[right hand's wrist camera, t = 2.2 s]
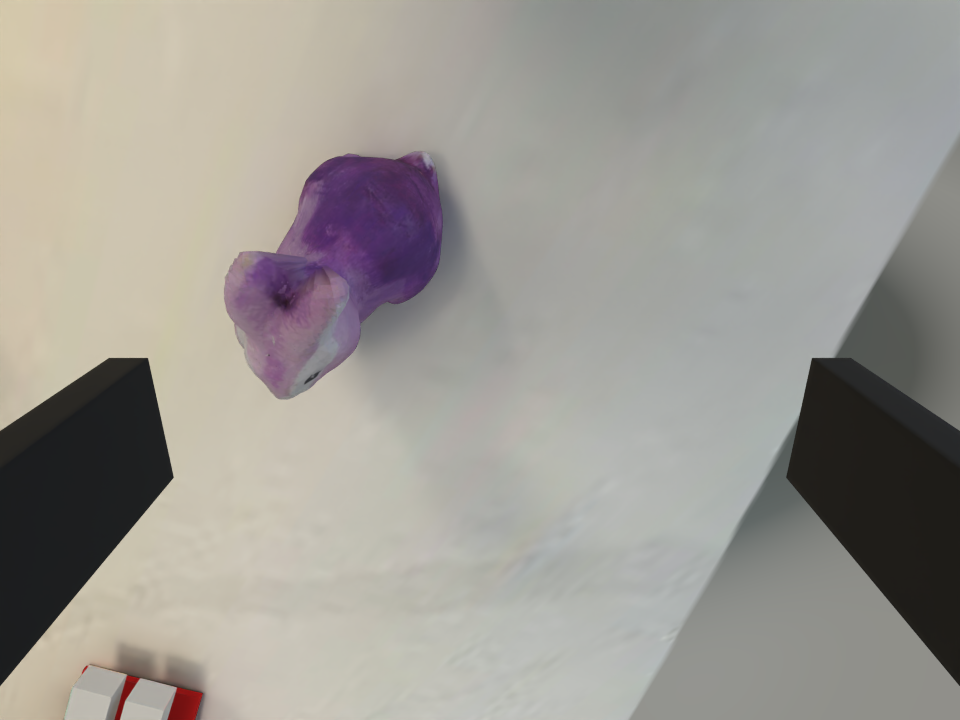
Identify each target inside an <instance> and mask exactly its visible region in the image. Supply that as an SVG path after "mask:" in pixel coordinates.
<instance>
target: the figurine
mask: <svg viewBox="0 0 960 720" xmlns="http://www.w3.org/2000/svg"><path fill="white" fill-rule="evenodd" d="M442 227H443V218H442V209H441V204H440V199H439V189H438V180H437V173H436V169H435V165H434V163H433V160H432V159H431V157H430V156H429V154H428V153H426V152H423V151H415V152H412V153H410V154H407V155H405V156H403V157H401V158H399V159H396V160H392V159H385V158H373V157H360V156H358V155H354V154H346V155H344V156H339V157H335V158H332V159H330V160H327V161H326V162H324V163H323V164H321V165H320V166H319V167H318V168H317V169H316V170H315V171H314V172H313V173H312V174H311V175H310V176H309V178H308V179H307V180H306V182H305V185H304V188H303V191H302V193H301V196H300V200H299V208H298V214H297V216H296V218H295V221H294V223H293V225H292V227H291V228H290V230H289V232H288V233H287V235H286V236H285V238H284V240H283V241H282V243H281V245H280V247H279V248H278V250H277V252H276V253H268V252H260V251H248V252H240V253H239V255H238V258H236V259H234V262H233V265H231V266H230V268H229V271H228V273H227V275H226V276H225V286H224V300H225V304H226V310H227V312H228V314H229V316H230V318H231V319H232V320H233V322H234V323H235V333H236V336H237V339H238V341H239V343H240V344H241V346H242V347H243V348H244V354H245V358H246V361H247V364H248V366H249V367H250V368H251V370H252V371H253V372H254V374H255V375H256V376H257V377H258V378H259V379H261V380H262V381H263V382H264V384H265V385H266V386H267V387H268V389H269V390H270V392H271V393H272V394H273V395H274V396H275V397H276V398H278V399H286V400H287V399H290V398H293V397H295V396H297V395H298V394H300V393H302V392H304V391H306V390H308V389H309V388H311V387H312V386H313V385H314V384H315V383H316V382H317V381H318V380H319V379H320V378H322V377H323V376H324V375H325V374H327V373H328V372H329V371H331V370H333V369H334V368H336V367H337V366H338V365H340V364H341V363H342V362H343V361H344V360H345V359H346V358H348V357H349V356H350V355H351V354H352V353H353V351H354V350H355V349H356V346H357V344H358V341H359V339H360V331H361V330H360V323H362V322H363V321H364V320H365V319H366V318H367V317H368V316H369V315H370V314H371V313H372V312H373V311H374V310H375V309H376V308H377V307H379V306H380V305H382V304H383V303H386V302H389V303H392V304H399V303H402V302H405V301H407V300H409V299H410V298H412V297H414V296H415V295H416V294H418V293H419V292H420V291H421V290H423V289H424V287H425V286H426V285H427V284H428V282H429V281H430V280H431V279H432V277H433V275H434V274H435V272H436V270H437V267H438V264H439V259H440V249H441V239H442Z"/></svg>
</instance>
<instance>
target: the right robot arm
mask: <svg viewBox="0 0 960 720" xmlns="http://www.w3.org/2000/svg"><path fill="white" fill-rule="evenodd" d="M173 478H174V477H173V472H172V467H171V463H170V458H169V453H168V449H167V444H166V440H165V435H164V430H163V426H162V421H161V416H160V412H159V407H158V403H157V398H156V393H155V389H154V384H153V379H152V375H151V370H150V365H149V361H148V358H108V359H107V360H106V361H104V362H103V363H101V364H100V365H98V366H97V367H95V368H94V369H92V370H91V371H89V372H88V373H86V374H85V375H83V376H82V377H80V378H79V379H77V380H76V381H74V382H73V383H71V384H70V385H68V386H67V387H65V388H64V389H62V390H61V391H59V392H58V393H56V394H55V395H53V396H52V397H50V398H49V399H47V400H46V401H44V402H43V403H41V404H40V405H38V406H37V407H35V408H34V409H32V410H31V411H29V412H28V413H26V414H25V415H23V416H22V417H20V418H19V419H17V420H16V421H14V422H13V423H12V424H10V425H9V426H7V427H6V428H4V429H3V430H1V431H0V686H1V684H2V683H3V682H4V681H5V680H6V678H7V677H8V676H9V675H10V674H11V672H12V671H13V670H14V669H15V668H16V666H17V665H18V664H19V663H20V662H21V660H22V659H23V658H24V657H25V656H26V654H27V653H28V652H29V651H30V650H31V648H32V647H33V646H34V645H35V644H36V642H37V641H38V640H39V639H40V638H41V636H42V635H43V634H44V633H45V632H46V630H47V629H48V628H49V627H50V626H51V624H52V623H53V622H54V621H55V620H56V618H57V617H58V616H59V615H60V614H61V612H62V611H63V610H64V609H65V608H66V606H67V605H68V604H69V603H70V602H71V600H72V599H73V598H74V597H75V596H76V594H77V593H78V592H79V591H80V590H81V588H82V587H83V586H84V585H85V584H86V582H87V581H88V580H89V579H90V577H91V576H92V575H93V574H94V573H95V571H96V570H97V569H98V568H99V567H100V565H101V564H102V563H103V562H104V561H105V559H106V558H107V557H108V556H109V555H110V553H111V552H112V551H113V550H114V549H115V547H116V546H117V545H118V544H119V543H120V541H121V540H122V539H123V538H124V537H125V535H126V534H127V533H128V532H129V531H130V529H131V528H132V527H133V526H134V525H135V523H136V522H137V521H138V520H139V519H140V517H141V516H142V515H143V514H144V513H145V511H146V510H147V509H148V508H149V507H150V505H151V504H152V503H153V502H154V501H155V499H156V498H157V497H158V496H159V495H160V493H161V492H162V491H163V490H164V489H165V487H166V486H167V485H168V484H169V483H170V481H171V480H172V479H173ZM787 479H788V480H789V481H790V483H791V484H792V485H793V486H794V487H795V489H796V490H797V491H798V492H799V493H800V495H801V496H802V497H803V498H804V499H805V501H806V502H807V503H808V504H809V505H810V507H811V508H812V509H813V510H814V511H815V513H816V514H817V515H818V516H819V517H820V519H821V520H822V521H823V522H824V523H825V525H826V526H827V527H828V528H829V529H830V531H831V532H832V533H833V534H834V535H835V537H836V538H837V539H838V540H839V541H840V543H841V544H842V545H843V546H844V547H845V549H846V550H847V551H848V552H849V553H850V555H851V556H852V557H853V558H854V559H855V561H856V562H857V563H858V564H859V565H860V567H861V568H862V569H863V570H864V571H865V573H866V574H867V575H868V576H869V577H870V579H871V580H872V581H873V582H874V584H875V585H876V586H877V587H878V588H879V589H880V591H881V592H882V593H883V594H884V596H885V597H886V598H887V599H888V600H889V601H890V603H891V604H892V605H893V606H894V608H895V609H896V610H897V611H898V612H899V614H900V615H901V616H902V617H903V618H904V620H905V621H906V622H907V623H908V624H909V626H910V627H911V628H912V629H913V630H914V632H915V633H916V634H917V635H918V636H919V638H920V639H921V640H922V641H923V642H924V643H925V645H926V646H927V647H928V648H929V650H930V651H931V652H932V653H933V654H934V656H935V657H936V658H937V659H938V660H939V662H940V663H941V664H942V665H943V666H944V668H945V669H946V670H947V671H948V672H949V674H950V675H951V676H952V677H953V678H954V680H955V681H956V682H957V683H958V684H959V686H960V431H959V430H957V429H956V428H954V427H953V426H951V425H950V424H948V423H947V422H945V421H944V420H942V419H941V418H940V417H938V416H936V415H935V414H933V413H932V412H931V411H929V410H927V409H926V408H925V407H923V406H922V405H920V404H919V403H917V402H916V401H914V400H913V399H911V398H910V397H908V396H907V395H905V394H904V393H902V392H901V391H899V390H898V389H896V388H895V387H893V386H892V385H890V384H889V383H887V382H886V381H884V380H883V379H881V378H880V377H878V376H877V375H875V374H874V373H872V372H871V371H869V370H868V369H866V368H865V367H863V366H862V365H860V364H859V363H857V362H856V361H854V360H853V359H851V358H812V361H811V365H810V370H809V375H808V379H807V384H806V389H805V393H804V398H803V403H802V407H801V412H800V416H799V421H798V426H797V430H796V435H795V440H794V444H793V449H792V453H791V458H790V463H789V467H788V472H787Z"/></svg>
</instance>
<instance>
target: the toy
mask: <svg viewBox="0 0 960 720" xmlns="http://www.w3.org/2000/svg"><path fill="white" fill-rule="evenodd" d="M202 695H203V693H199V692H195V691H191V690H186V689H182V688H178V687H174V686H170V685H166V684H161V683H158V682H154V681H150V680H146V679H142V678H136V677H132V676H128V675H127V674H123V673H119V672H116V671H112V670H108V669H104V668H100V667H97V666H93V665H89V666H86V667H85V668H84V670H83V672H82V675H81V677H80V678H79V679H78V680H77V682H76V683H75V684H74V685H73V687H72V690H71V694H70V698H69V701H68V705H67V709H66V713H65V717H64V720H195V718H196V715H197V711H198V708H199V705H200V701H201V698H202Z"/></svg>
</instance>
